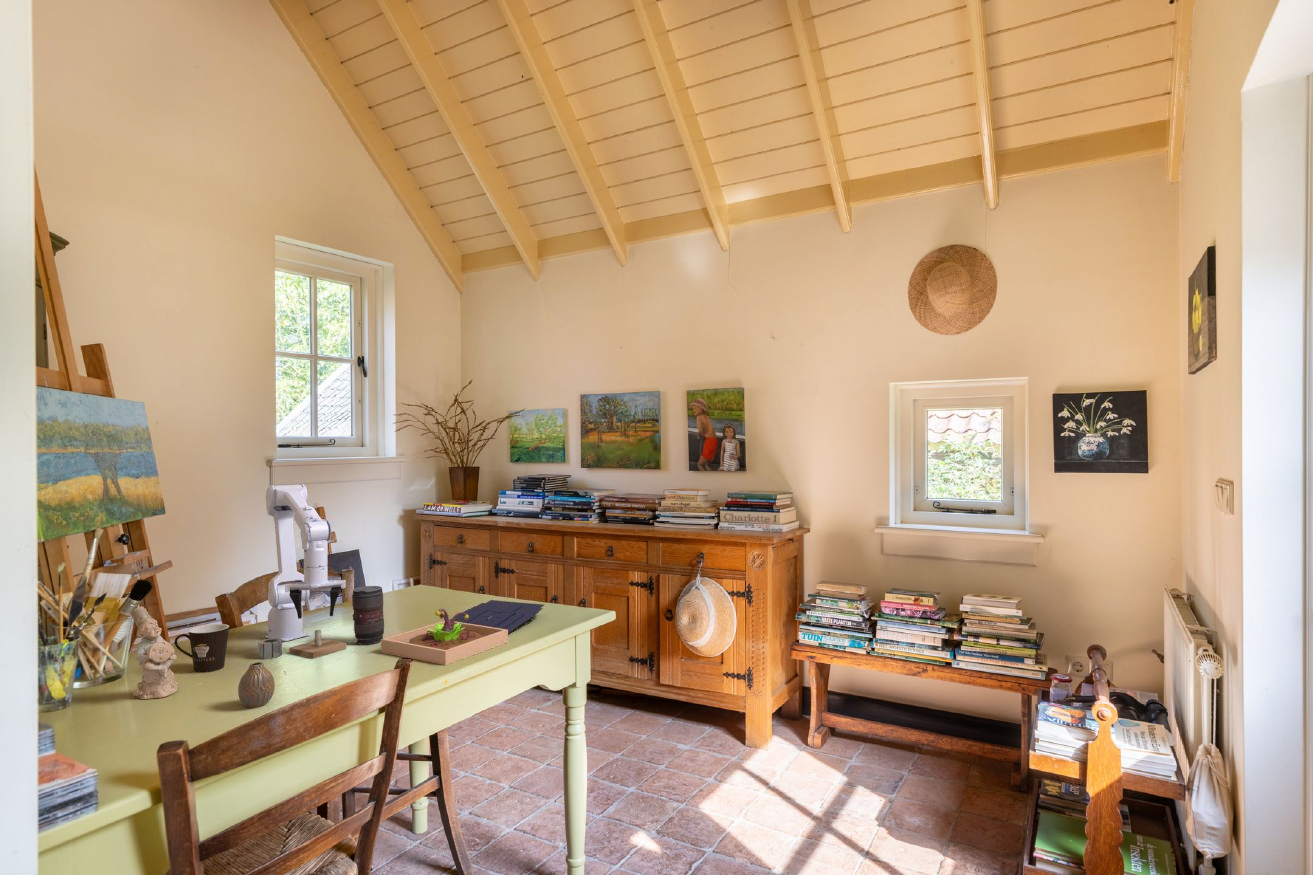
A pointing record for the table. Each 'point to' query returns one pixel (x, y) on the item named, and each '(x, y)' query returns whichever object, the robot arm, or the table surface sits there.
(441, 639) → the plant
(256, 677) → the vase
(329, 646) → the shaft stand
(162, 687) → the figurine
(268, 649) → the ring
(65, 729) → the table surface
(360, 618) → the camera lens
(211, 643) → the coffee mug
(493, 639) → the tan flat square tray
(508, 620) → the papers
